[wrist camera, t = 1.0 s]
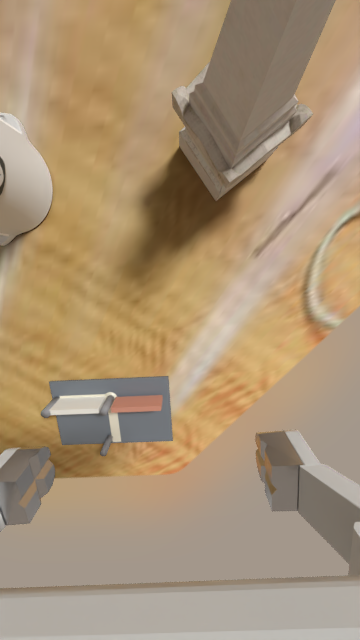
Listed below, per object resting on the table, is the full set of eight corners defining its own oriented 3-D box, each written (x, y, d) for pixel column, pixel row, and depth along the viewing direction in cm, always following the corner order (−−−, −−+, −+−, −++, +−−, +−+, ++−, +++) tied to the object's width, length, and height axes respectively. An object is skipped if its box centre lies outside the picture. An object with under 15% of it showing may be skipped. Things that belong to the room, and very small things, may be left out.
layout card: (63, 443, 50) (62, 445, 50) (49, 381, 46) (48, 382, 46) (172, 439, 49) (172, 441, 49) (168, 376, 46) (168, 377, 45)
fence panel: (116, 401, 46) (111, 412, 43) (115, 396, 46) (110, 407, 43) (162, 399, 46) (161, 410, 43) (162, 394, 46) (160, 405, 42)
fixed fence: (62, 440, 50) (50, 458, 45) (53, 395, 47) (39, 410, 42) (120, 438, 49) (113, 456, 45) (114, 393, 47) (106, 408, 42)
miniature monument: (271, 160, 36) (620, -225, 7) (215, 205, 38) (320, 37, 9) (232, 95, 34) (504, -787, 5) (175, 146, 36) (145, -317, 7)
